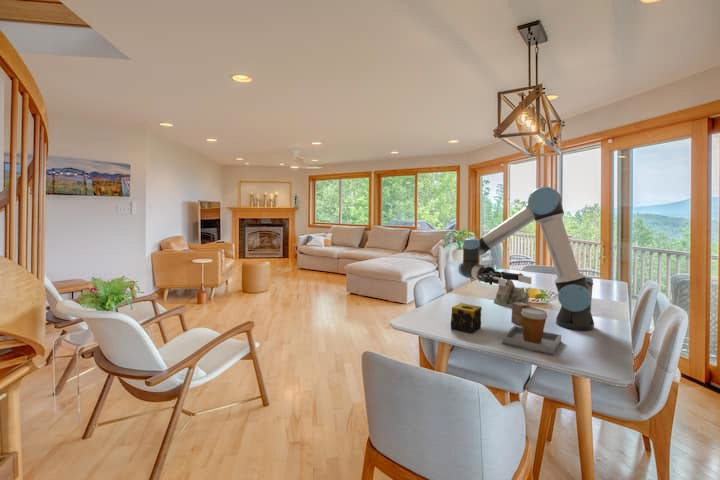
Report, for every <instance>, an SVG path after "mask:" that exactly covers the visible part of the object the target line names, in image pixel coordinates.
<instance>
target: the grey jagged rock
mask: <svg viewBox="0 0 720 480" xmlns="http://www.w3.org/2000/svg"><path fill="white" fill-rule="evenodd" d="M529 300H530V295H529V293H528V292H526V291H525V288H524V287H521V288H520V287H517V286H515V284H514V280H506V285H505V286H502V285H498V290H497V291H496V295H495V298H494V300H493V304H495V305H499V306H503V307H505V306H507V307H512V303H519V302H521V303H525V304H528V305H529V306H530V304H529Z"/></svg>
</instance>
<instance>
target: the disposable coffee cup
mask: <svg viewBox="0 0 720 480" xmlns="http://www.w3.org/2000/svg"><path fill="white" fill-rule="evenodd" d="M521 315H522V322H523V325H522V327H523V337H524V340H525V341H527V342H532V343H541V340H542V335H543V331H544V330H545V325H546V321H547V319H548V315H547V311H545V310H544V309H540V308H534V307H529V308H524V309H522V312H521Z"/></svg>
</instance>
